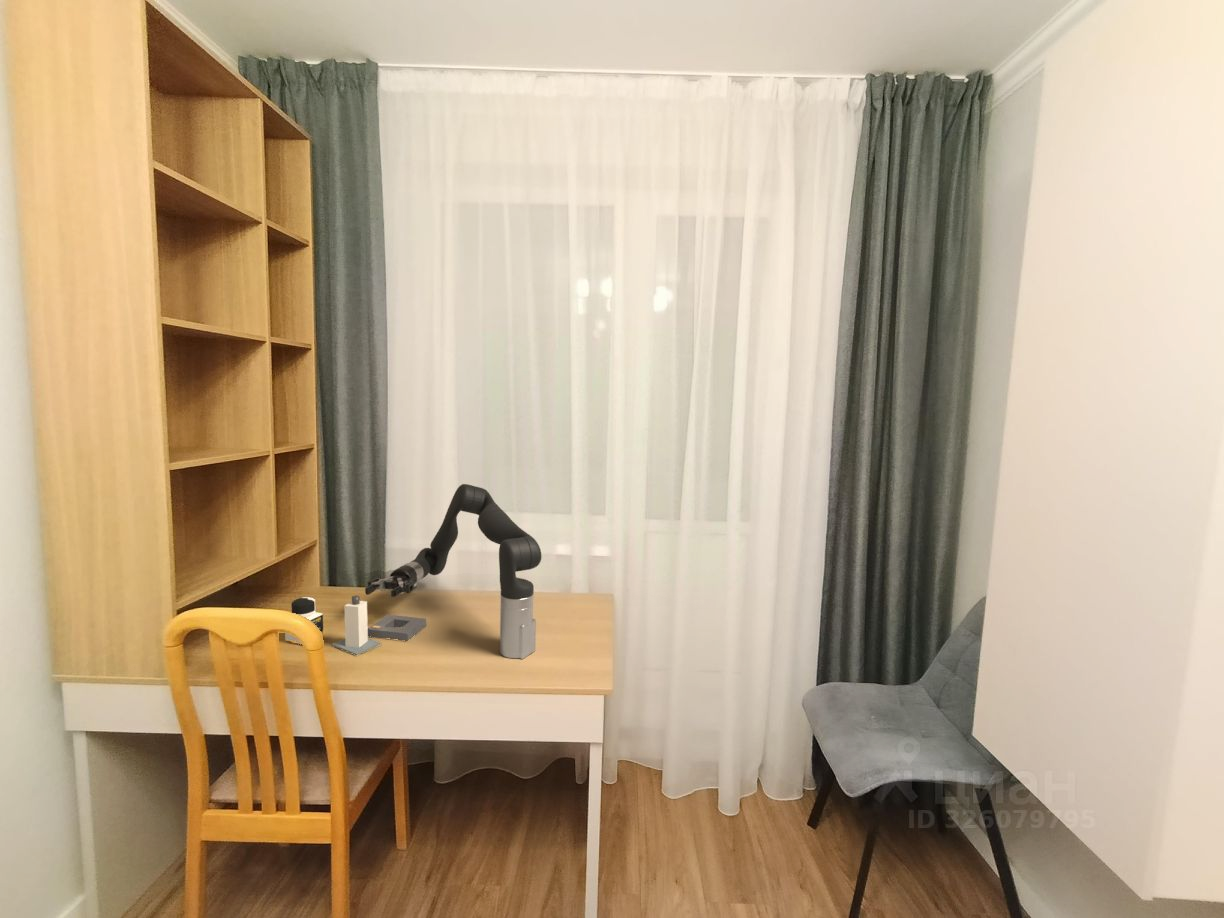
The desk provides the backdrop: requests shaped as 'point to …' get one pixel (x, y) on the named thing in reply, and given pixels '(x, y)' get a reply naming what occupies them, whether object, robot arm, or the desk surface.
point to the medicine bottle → (306, 613)
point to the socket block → (387, 630)
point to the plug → (356, 622)
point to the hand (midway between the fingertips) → (379, 592)
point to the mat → (356, 650)
